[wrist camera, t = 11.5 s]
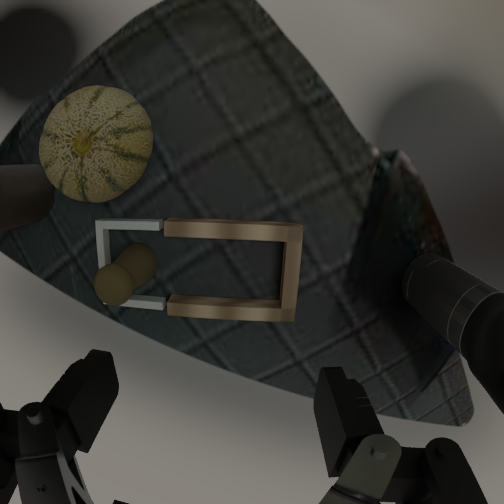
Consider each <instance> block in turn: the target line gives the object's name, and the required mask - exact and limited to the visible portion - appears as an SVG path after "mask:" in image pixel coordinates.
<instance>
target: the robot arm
mask: <svg viewBox="0 0 504 504" xmlns="http://www.w3.org/2000/svg"><path fill="white" fill-rule="evenodd" d="M402 293H403V296H404V298H405V299H406V300H407V301H408V302H409V303H410V304H411V305H412V306H413V307H414V308H415V309H416V310H417V311H418V312H419V313H420V314H421V315H422V316H423V317H424V318H425V319H426V320H427V321H428V322H429V323H430V324H431V325H432V326H433V327H434V328H435V329H436V330H437V331H438V332H439V333H440V334H441V335H442V336H443V337H444V338H445V339H446V340H447V341H448V342H449V343H450V344H451V345H452V346H453V347H454V348H455V349H456V350H457V351H458V352H459V353H460V354H461V355H462V356H463V357H464V358H465V359H466V360H467V362H468V365H469V368H470V370H471V372H472V373H473V375H474V376H475V377H476V378H477V380H478V381H479V382H480V383H481V384H482V386H483V387H484V389H485V390H486V391H487V393H488V394H489V395H490V397H491V398H492V399H493V401H494V402H495V404H496V405H497V406H498V408H499V409H500V410H501V411H502V413H503V414H504V293H502V292H501V291H499V290H497V289H496V288H494V287H493V286H491V285H489V284H487V283H486V282H484V281H482V280H480V279H479V278H477V277H476V276H474V275H472V274H470V273H468V272H467V271H465V270H463V269H462V268H460V267H458V266H456V265H455V264H453V263H451V262H449V261H448V260H446V259H444V258H442V257H440V256H438V255H436V254H434V253H425V254H422V255H420V256H418V257H416V258H415V259H414V260H413V261H412V262H411V263H410V264H409V266H408V267H407V268H406V271H405V273H404V275H403V279H402ZM118 390H119V383H118V378H117V374H116V370H115V366H114V361H113V357H112V354H111V353H110V352H106V351H101V350H96V349H92V350H91V351H90V352H89V353H88V355H87V356H86V357H85V359H80V360H78V361H76V362H75V363H73V364H71V365H70V367H69V368H68V369H67V370H66V371H65V374H63V375H62V377H61V378H60V380H59V381H58V382H57V383H56V384H55V385H54V387H53V388H52V389H51V390H50V392H49V393H48V394H47V396H46V397H45V398H44V400H43V401H42V402H32V403H28V404H26V405H25V406H23V407H22V408H21V409H20V411H14V410H5V409H3V407H2V405H1V403H0V504H8V503H9V501H10V499H11V497H12V495H13V493H14V490H15V488H16V486H17V484H18V486H19V492H20V497H21V501H22V504H94V503H93V501H92V500H91V498H90V496H89V494H88V491H87V488H86V486H85V483H84V480H83V478H82V475H81V472H80V469H79V466H78V463H77V460H76V457H75V456H74V455H75V453H76V451H77V450H79V451H82V452H85V453H88V452H89V450H90V448H91V446H92V444H93V442H94V440H95V438H96V436H97V434H98V432H99V430H100V428H101V426H102V424H103V422H104V420H105V418H106V416H107V414H108V413H109V411H110V409H111V407H112V405H113V403H114V401H115V399H116V397H117V395H118ZM314 413H315V418H316V422H317V427H318V431H319V435H320V439H321V444H322V449H323V453H324V457H325V462H326V466H327V471H328V476H329V478H330V477H339V478H338V480H337V482H336V483H335V484H334V486H332V487H331V488H330V489H329V491H328V492H327V493H326V495H325V496H324V498H323V499H322V500H321V502H320V503H319V504H381V503H380V502H395V503H396V504H488V503H487V501H486V499H485V497H484V494H483V492H482V490H481V488H480V486H479V484H478V482H477V480H476V478H475V476H474V474H473V471H472V470H471V467H470V466H469V464H468V462H467V460H466V458H465V456H464V454H463V452H462V450H461V448H460V447H459V445H458V444H457V443H456V442H454V441H453V440H451V439H448V438H443V437H442V438H435V439H433V440H431V441H430V442H429V443H428V444H427V445H426V447H425V448H411V447H402V446H400V444H399V443H398V441H396V440H395V439H394V438H392V437H391V436H388V435H385V434H384V432H383V429H382V427H381V425H380V423H379V420H378V418H377V416H376V414H375V412H374V409H373V407H372V406H371V403H370V400H369V398H368V396H367V394H366V392H365V390H364V387H363V386H362V385H361V384H359V383H358V382H357V381H356V380H355V379H347V378H346V376H345V373H344V371H343V369H342V367H322V368H321V370H320V373H319V378H318V383H317V387H316V392H315V396H314ZM113 504H128V503H125V502H121V501H117V500H114V502H113Z"/></svg>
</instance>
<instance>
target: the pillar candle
mask: <svg viewBox="0 0 504 504" xmlns="http://www.w3.org/2000/svg"><path fill="white" fill-rule="evenodd" d="M53 202H54V185H53V184H52V183H51V182H50V180H49V179H48V177H47V175H46V173H45V170H44V168H43V166H42V165H39V164H24V165H4V166H0V232H3V231H6V230H10V229H13V228H16V227H20V226H23V225H26V224H30V223H33V222H36V221H39V220H42V219H43V218H45V217H46V216H47V214H48V213H49V212H50V209H51V207H52V205H53Z"/></svg>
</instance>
